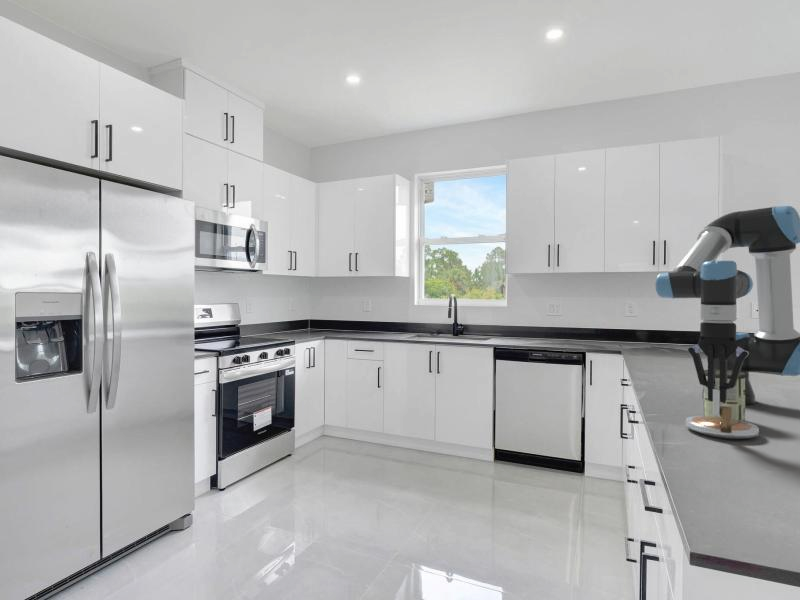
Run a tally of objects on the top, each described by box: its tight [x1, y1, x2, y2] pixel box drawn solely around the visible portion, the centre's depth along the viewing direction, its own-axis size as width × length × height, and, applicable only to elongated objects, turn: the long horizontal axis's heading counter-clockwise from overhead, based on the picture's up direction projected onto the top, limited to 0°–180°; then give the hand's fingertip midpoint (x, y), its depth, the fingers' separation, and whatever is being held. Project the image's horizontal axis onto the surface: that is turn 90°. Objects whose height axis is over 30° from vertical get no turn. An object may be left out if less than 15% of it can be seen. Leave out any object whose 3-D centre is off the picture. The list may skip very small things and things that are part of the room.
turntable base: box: [698, 432, 748, 441], centre depth 123 cm, size 12×12×1 cm
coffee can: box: [703, 369, 746, 421], centre depth 136 cm, size 10×10×14 cm
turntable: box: [685, 406, 760, 439], centre depth 123 cm, size 17×16×8 cm
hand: (717, 414), depth 118 cm, fingers closed
